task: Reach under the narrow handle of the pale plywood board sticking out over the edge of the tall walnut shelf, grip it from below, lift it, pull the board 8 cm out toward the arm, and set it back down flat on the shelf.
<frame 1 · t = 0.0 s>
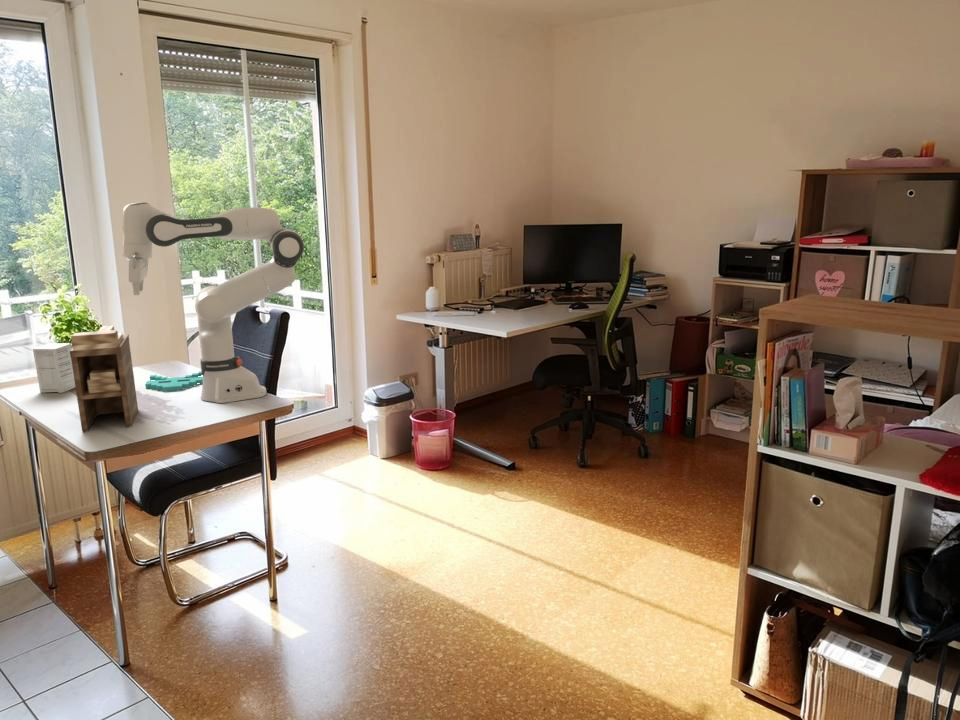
hand: (138, 292, 250), 39 cm above the table, tool pointing down, fingers open, 8 cm apart
walnut shelf: (111, 420, 241), on the table
plywood board: (99, 343, 233), point 26 cm above the table, touching walnut shelf
alien figure: (175, 385, 283), on the table
supplement box: (59, 390, 278), on the table
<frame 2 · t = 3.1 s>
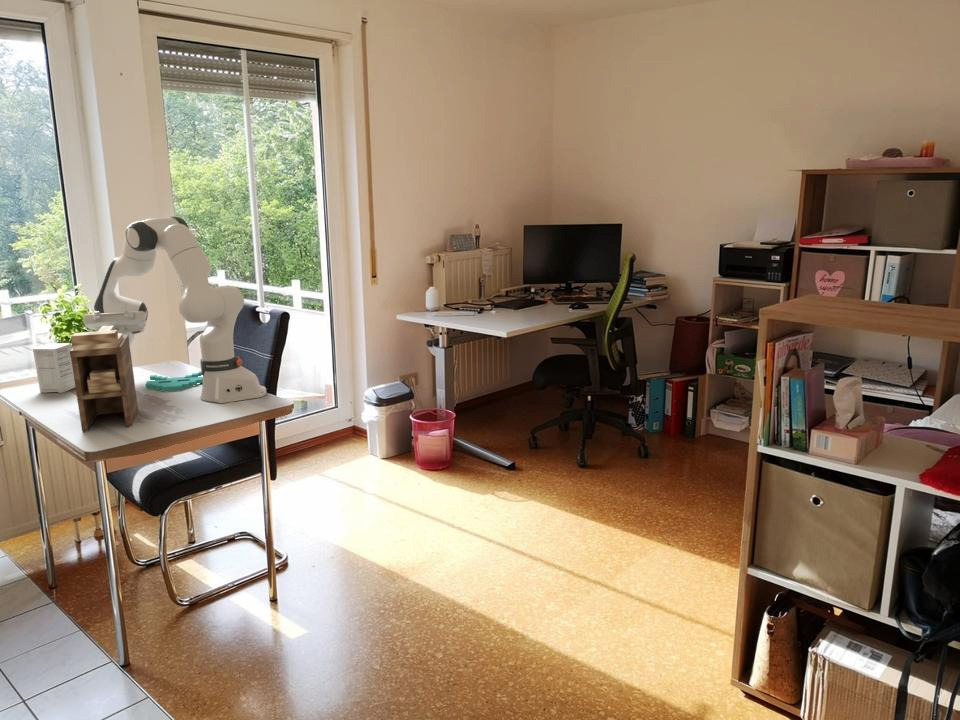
hand: (111, 312, 261), 31 cm above the table, tool pointing upward, fingers open, 8 cm apart
nothing on the table moved.
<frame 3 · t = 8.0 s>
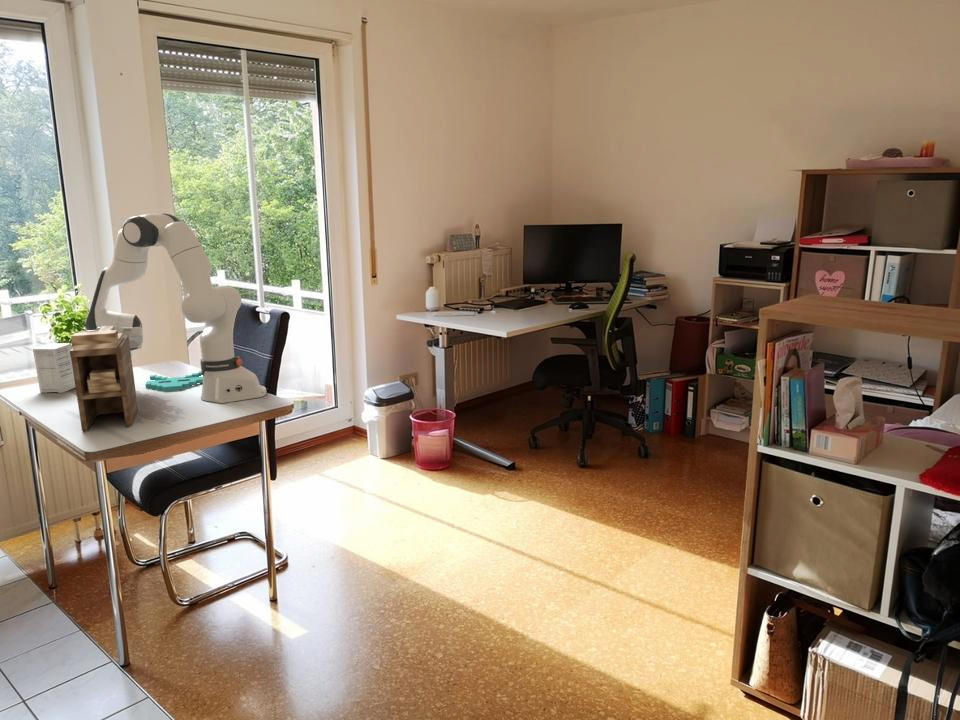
hand: (107, 328, 249), 27 cm above the table, tool pointing upward, fingers closed on plywood board, 3 cm apart
plywood board: (99, 343, 233), point 26 cm above the table, touching gripper, walnut shelf
everything else where it was.
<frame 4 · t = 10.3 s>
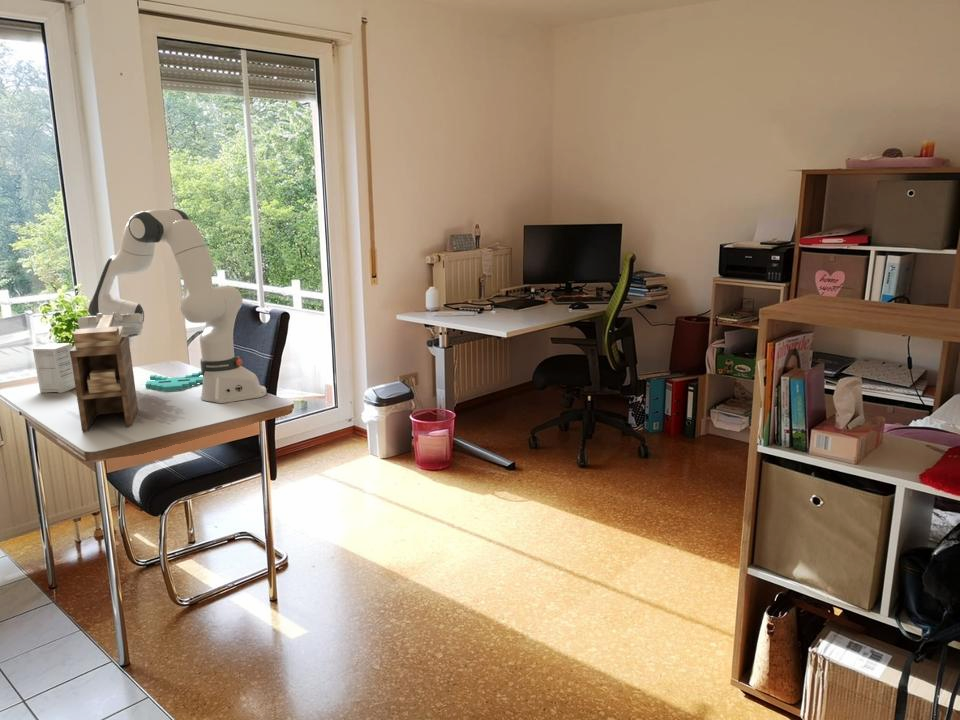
hand: (107, 314, 252), 31 cm above the table, tool pointing upward, fingers closed on plywood board, 3 cm apart
plywood board: (100, 338, 236), point 27 cm above the table, tilted 7°, touching gripper, walnut shelf
everything else where it was.
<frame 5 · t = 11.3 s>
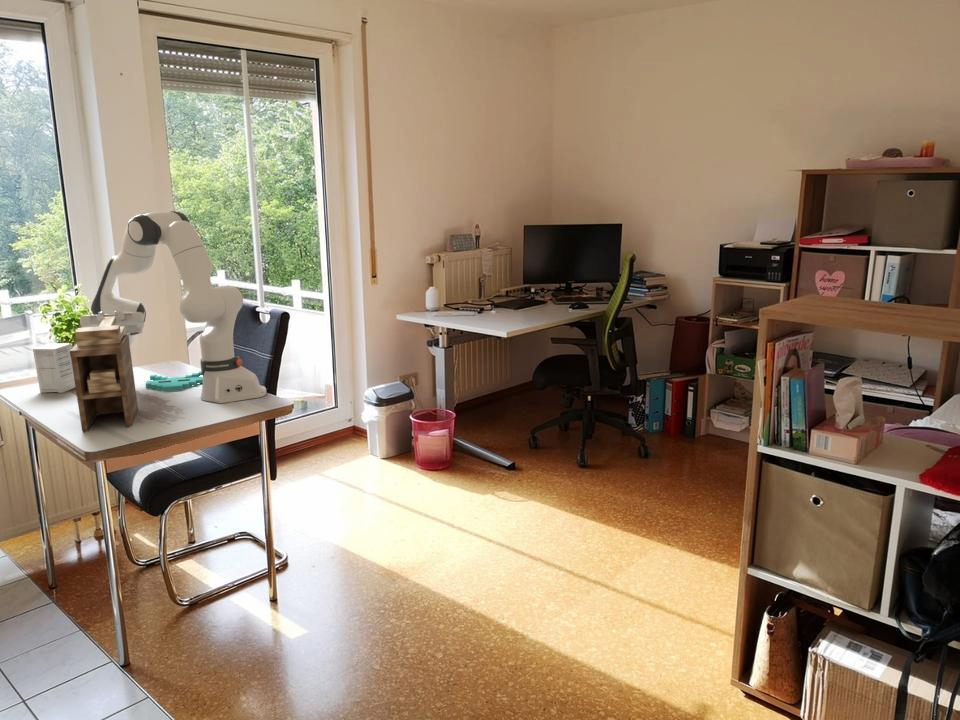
hand: (108, 313, 255), 31 cm above the table, tool pointing upward, fingers closed on plywood board, 3 cm apart
plywood board: (102, 338, 239), point 27 cm above the table, touching gripper, walnut shelf
everything else where it was.
when the fingers open (28 cm above the table, at t = 12.6 s): plywood board stays where it is, resting on walnut shelf.
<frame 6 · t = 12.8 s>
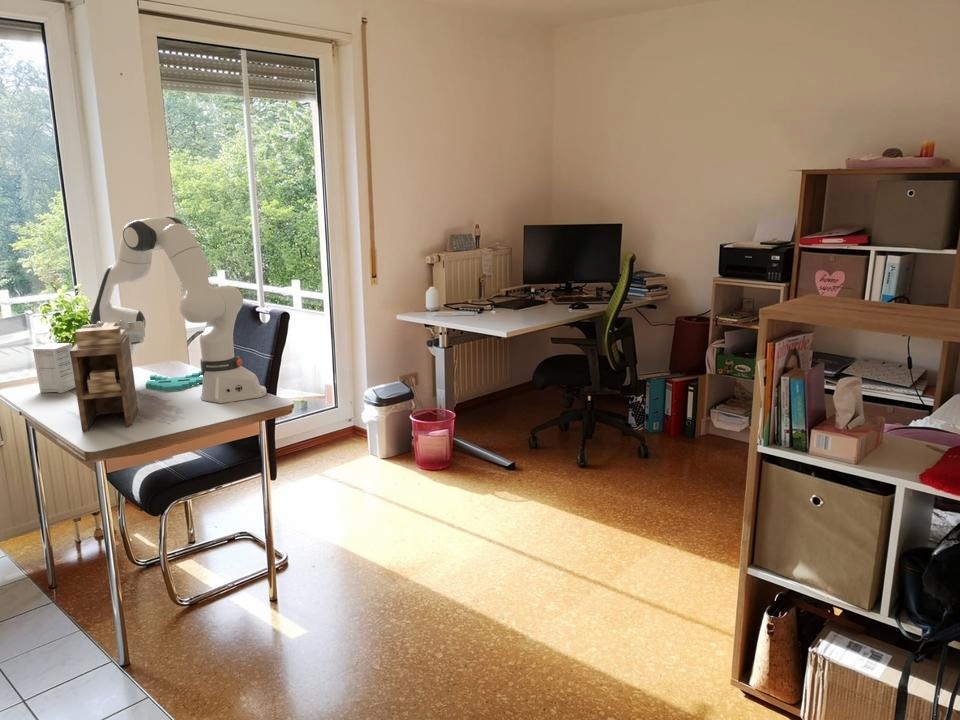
hand: (110, 323, 256), 28 cm above the table, tool pointing upward, fingers open, 5 cm apart
plywood board: (102, 339, 239), point 26 cm above the table, touching walnut shelf
everything else where it was.
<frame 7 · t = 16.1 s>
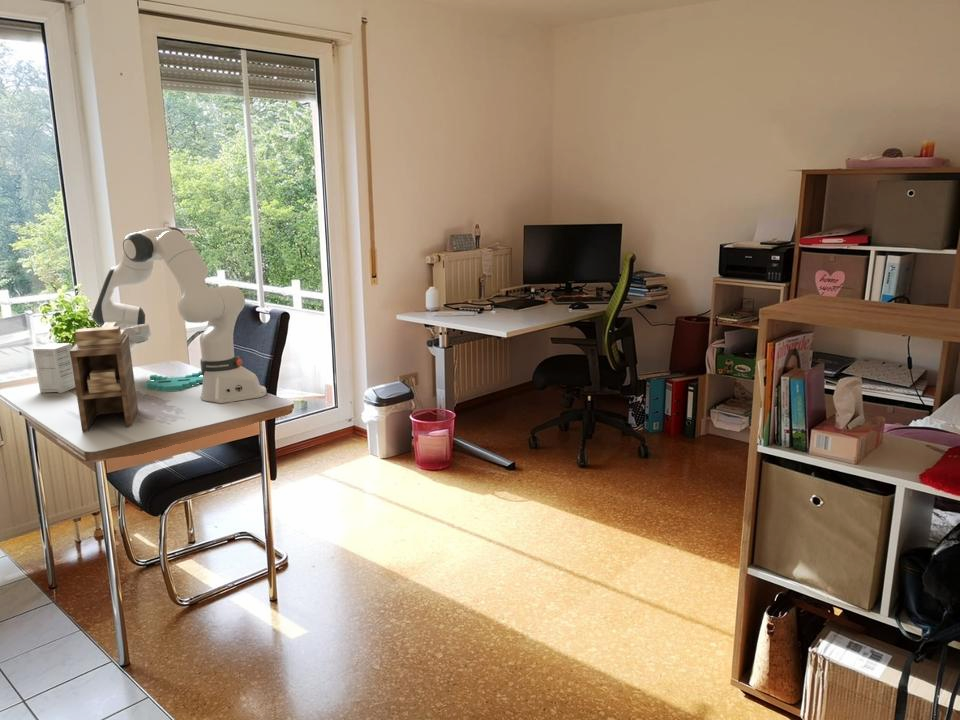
hand: (118, 331, 267), 23 cm above the table, tool pointing upward, fingers open, 8 cm apart
nothing on the table moved.
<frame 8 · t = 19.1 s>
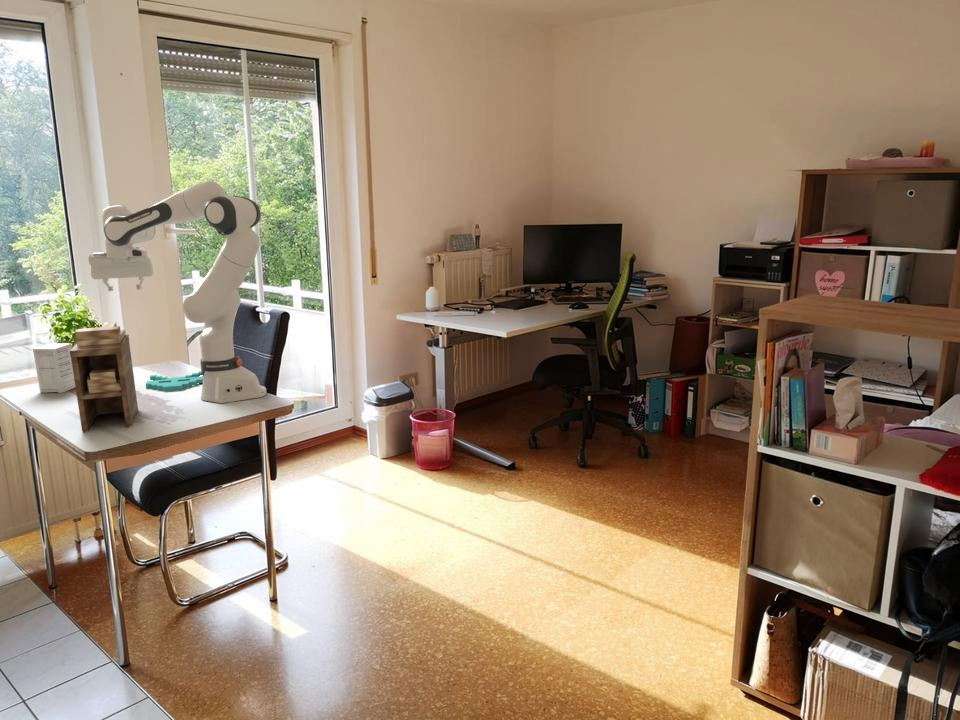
hand: (124, 290, 269), 37 cm above the table, tool pointing down, fingers open, 8 cm apart
nothing on the table moved.
at the end: plywood board inside the target area (1.8 cm from its centre), point 26.0 cm above the table; the gripper is holding nothing; plywood board tilted 0° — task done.
